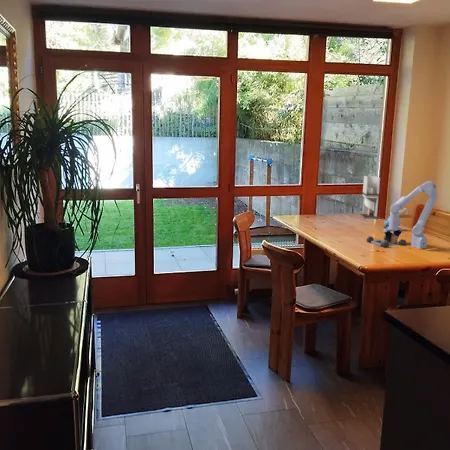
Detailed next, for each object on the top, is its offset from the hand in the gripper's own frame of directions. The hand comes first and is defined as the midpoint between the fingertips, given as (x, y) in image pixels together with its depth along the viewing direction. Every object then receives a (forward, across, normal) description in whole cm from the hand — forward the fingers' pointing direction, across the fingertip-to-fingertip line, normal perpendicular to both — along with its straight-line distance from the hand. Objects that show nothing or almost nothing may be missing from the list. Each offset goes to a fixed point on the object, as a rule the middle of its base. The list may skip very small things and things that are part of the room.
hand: (391, 241), depth 326 cm
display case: (+2, -49, -78) cm, 92 cm away
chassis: (+2, +5, 0) cm, 5 cm away
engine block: (+1, 0, 0) cm, 1 cm away
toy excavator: (+2, -34, -32) cm, 47 cm away
